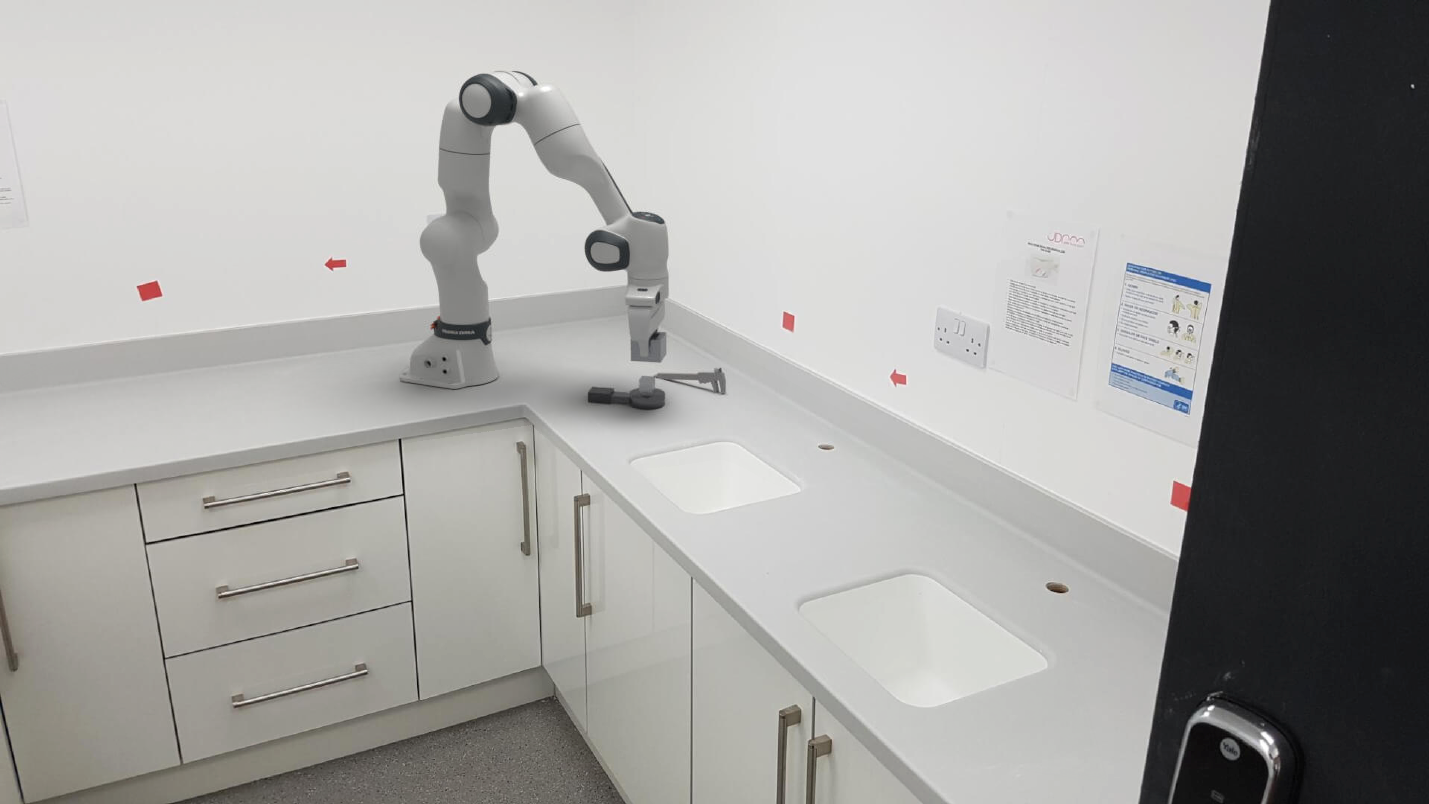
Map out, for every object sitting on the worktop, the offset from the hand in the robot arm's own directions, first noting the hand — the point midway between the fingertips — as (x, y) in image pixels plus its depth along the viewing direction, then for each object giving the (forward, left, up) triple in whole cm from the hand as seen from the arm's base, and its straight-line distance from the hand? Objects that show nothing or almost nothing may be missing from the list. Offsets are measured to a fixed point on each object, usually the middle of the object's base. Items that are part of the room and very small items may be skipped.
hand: (648, 350), depth 240 cm
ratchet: (-5, 0, -12) cm, 13 cm away
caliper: (+7, +15, -13) cm, 21 cm away
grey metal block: (0, 0, -2) cm, 2 cm away
